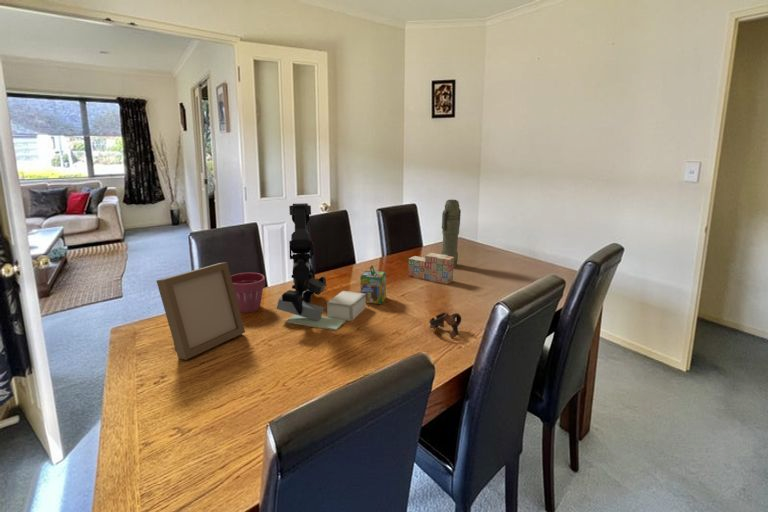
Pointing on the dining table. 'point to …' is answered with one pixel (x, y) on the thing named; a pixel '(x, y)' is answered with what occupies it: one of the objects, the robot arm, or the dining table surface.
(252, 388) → the dining table surface
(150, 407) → the dining table surface
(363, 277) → the green product box
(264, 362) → the dining table surface
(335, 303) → the gray cuboid case
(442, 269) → the stack of blocks
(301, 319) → the felt pad
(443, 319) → the dark looped figurine
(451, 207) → the dark grey statuette
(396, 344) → the dining table surface
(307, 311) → the grey blank
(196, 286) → the photo frame
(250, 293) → the plant pot
